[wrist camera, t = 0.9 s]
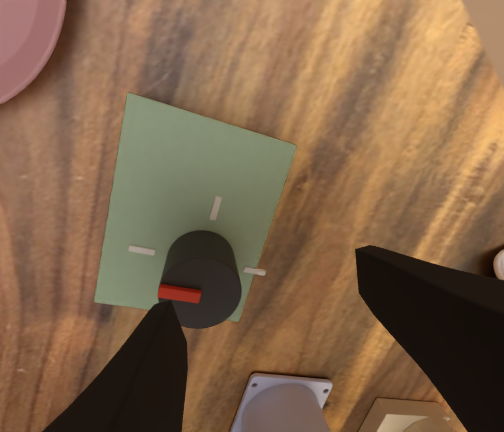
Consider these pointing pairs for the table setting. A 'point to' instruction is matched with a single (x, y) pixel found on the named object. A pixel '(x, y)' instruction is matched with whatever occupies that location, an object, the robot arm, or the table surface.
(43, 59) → the plate
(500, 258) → the dixie cup
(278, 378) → the robot arm
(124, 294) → the panel
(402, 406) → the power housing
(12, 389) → the table surface
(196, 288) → the knob
